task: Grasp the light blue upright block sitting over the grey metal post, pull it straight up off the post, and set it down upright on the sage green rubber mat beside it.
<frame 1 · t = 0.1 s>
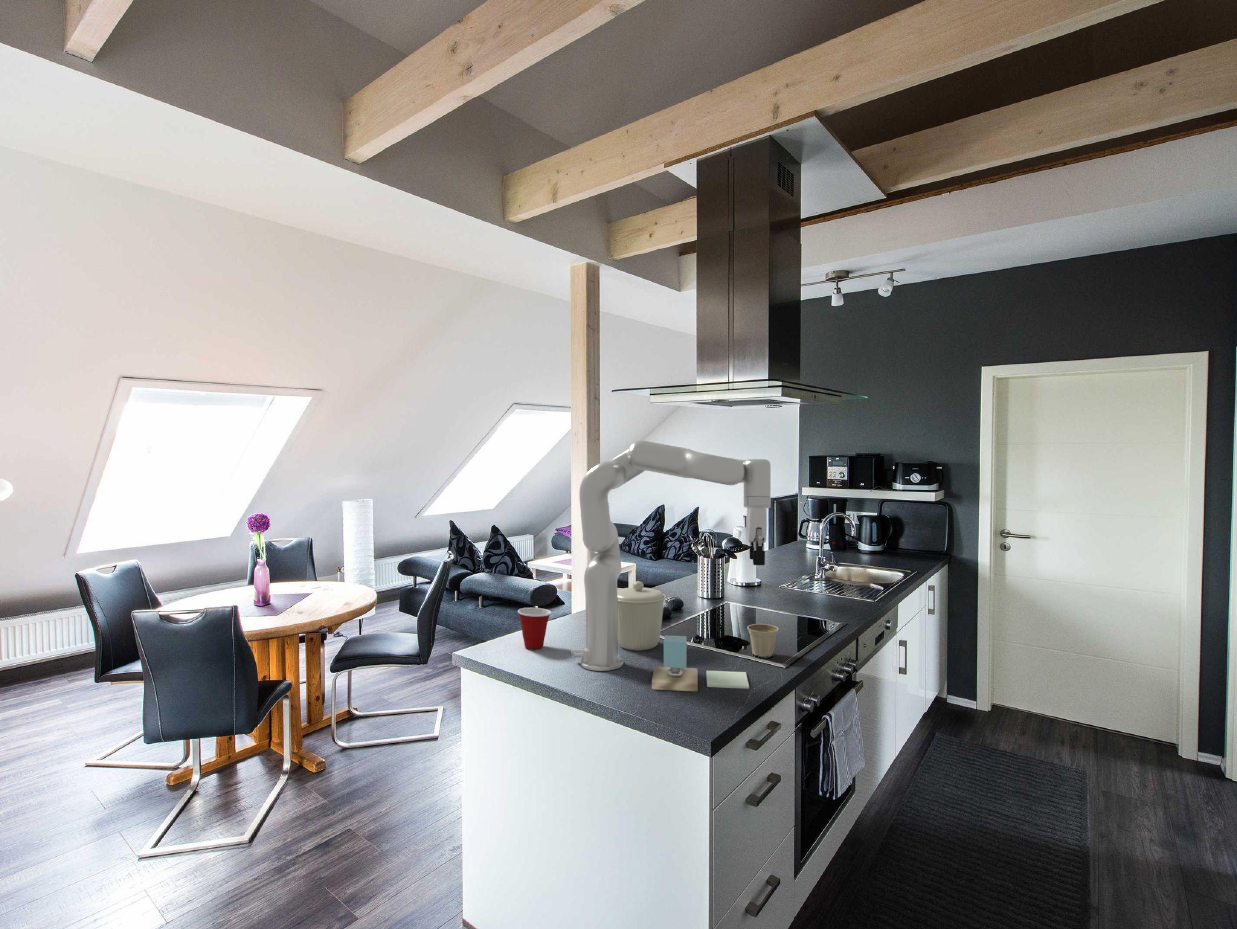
hand: (757, 562, 178), 31 cm above the countertop, tool pointing down, fingers open, 9 cm apart
canister: (638, 646, 202), on the countertop
mat: (726, 680, 171), on the countertop
light blue upright block: (675, 663, 170), point 5 cm above the countertop, touching post
post: (675, 658, 170), on the post base, point 6 cm above the countertop
flower pot: (762, 656, 192), on the countertop
post base: (675, 682, 170), on the countertop
plastic cup: (534, 647, 201), on the countertop
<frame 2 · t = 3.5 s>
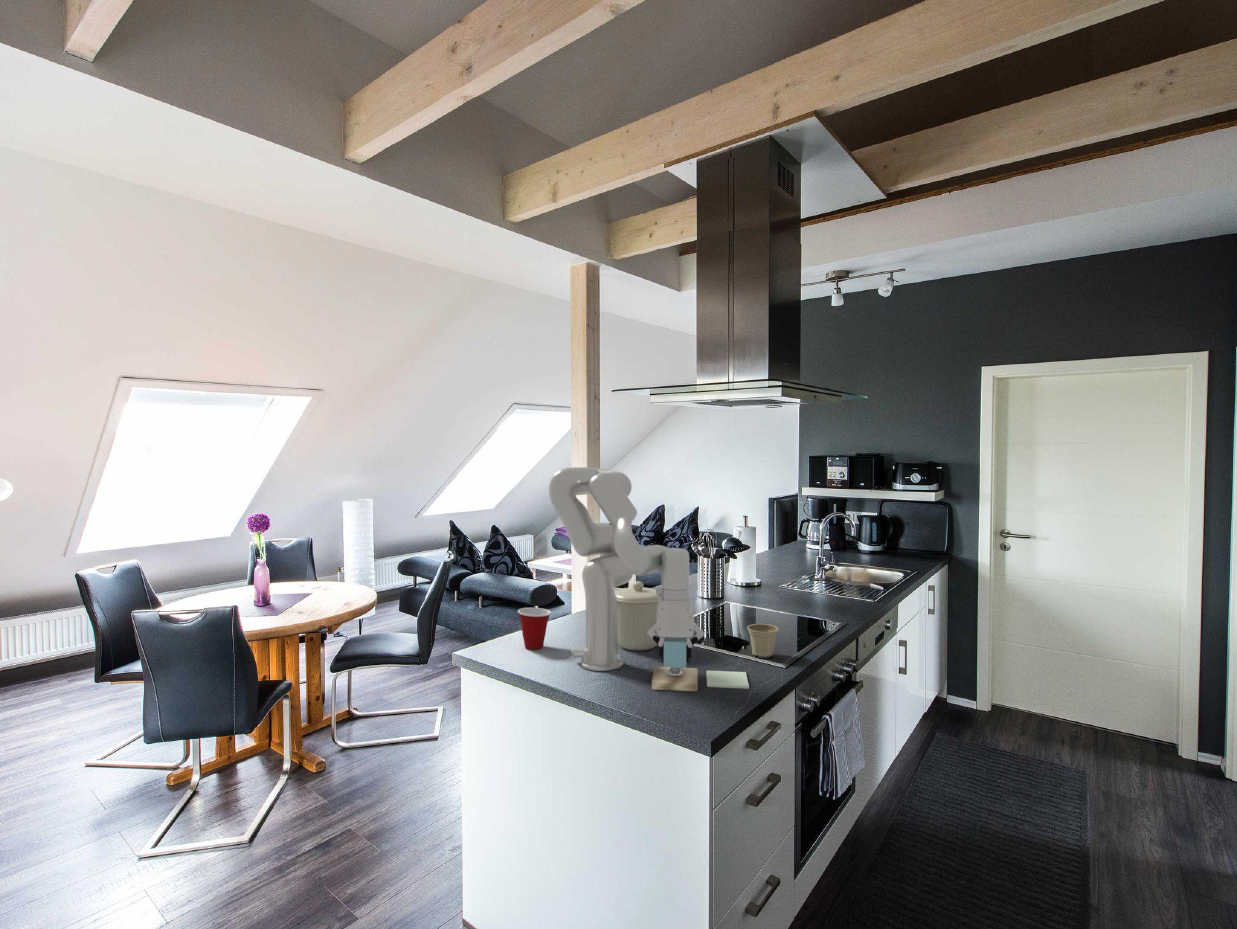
hand: (675, 659, 170), 6 cm above the countertop, tool pointing down, fingers closed on light blue upright block, 5 cm apart
light blue upright block: (675, 663, 170), point 5 cm above the countertop, touching gripper, post
everything else where it was.
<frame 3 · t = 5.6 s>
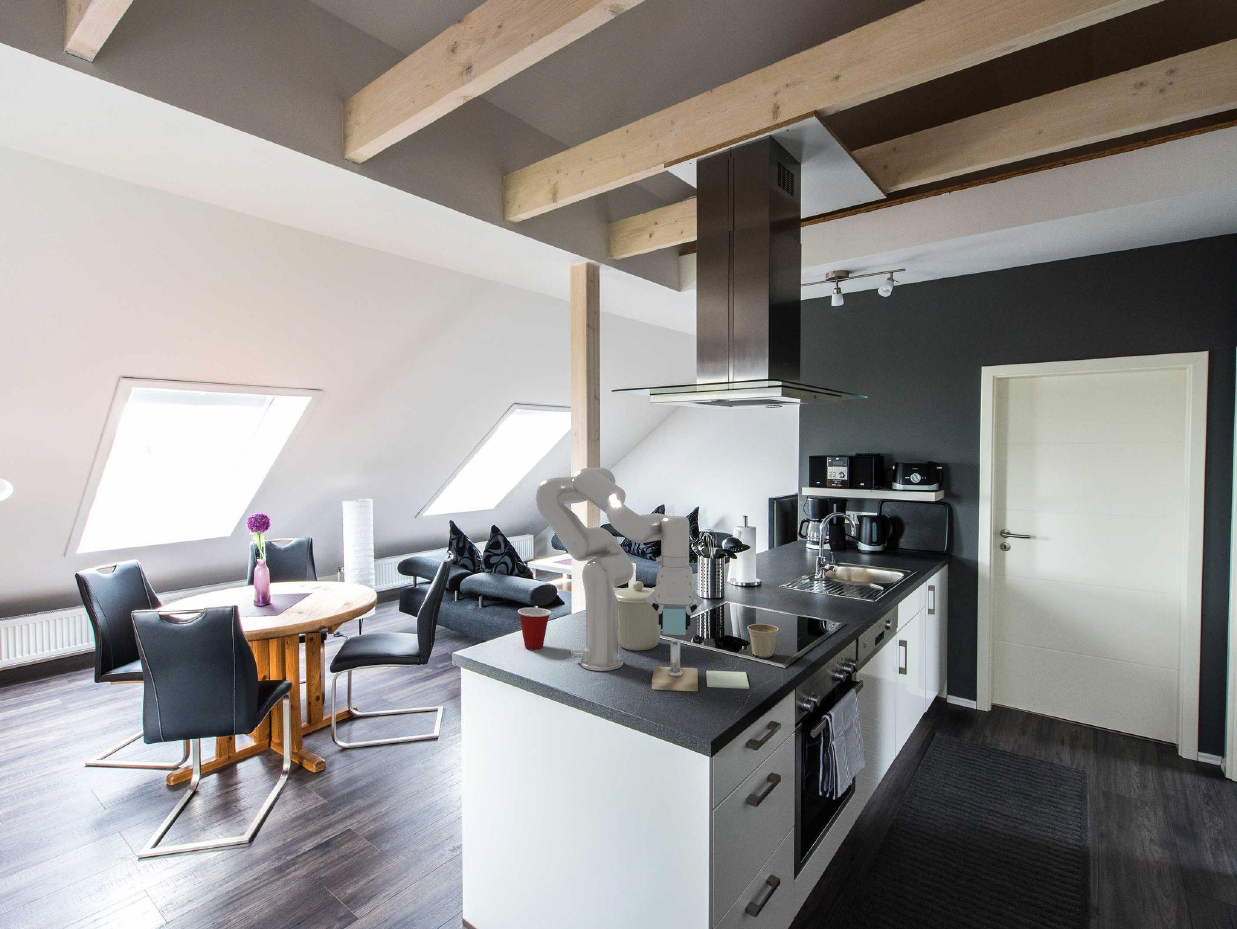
hand: (674, 627, 170), 15 cm above the countertop, tool pointing down, fingers closed on light blue upright block, 5 cm apart
light blue upright block: (674, 631, 170), point 14 cm above the countertop, touching gripper
everything else where it was.
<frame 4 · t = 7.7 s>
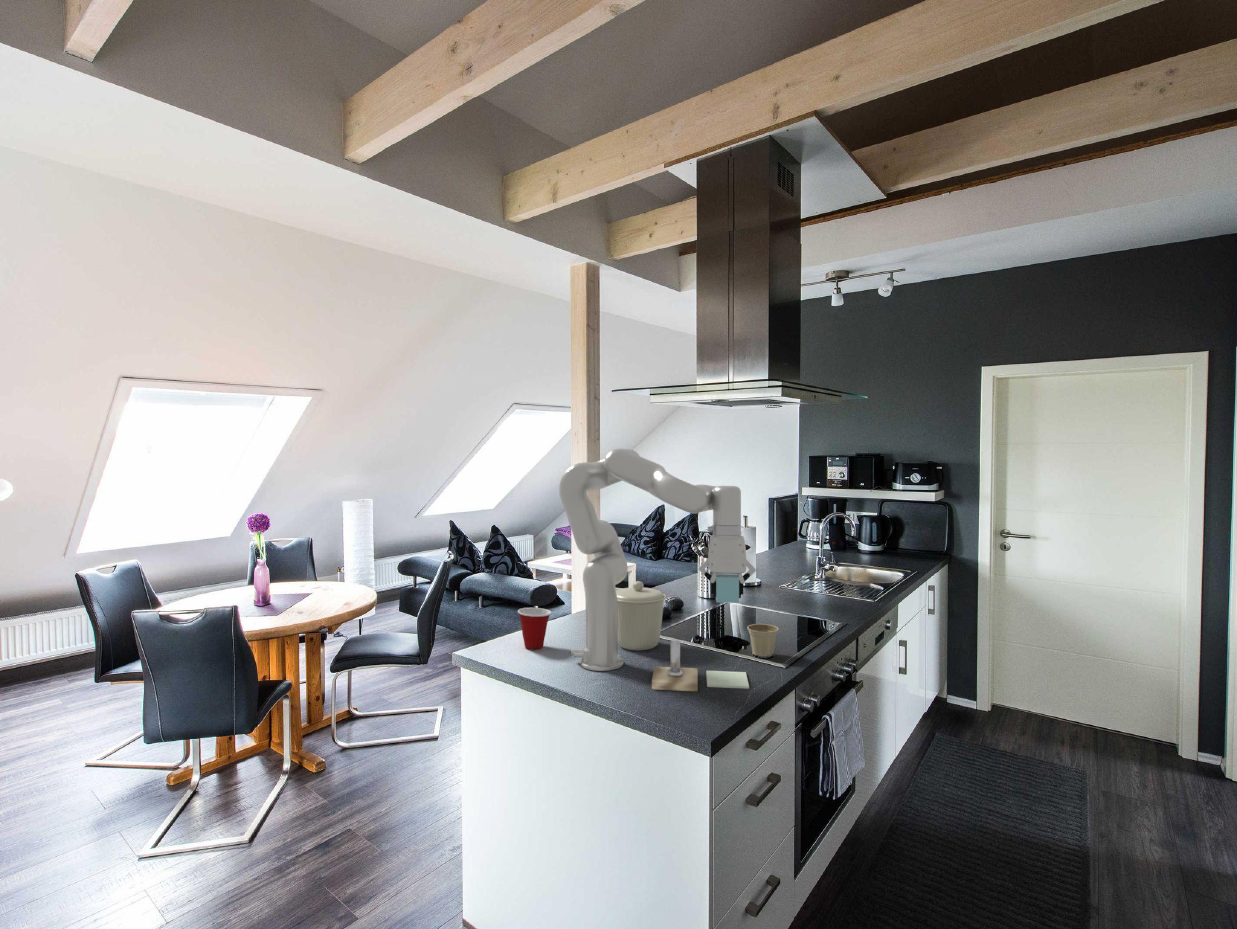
hand: (727, 596, 171), 23 cm above the countertop, tool pointing down, fingers closed on light blue upright block, 5 cm apart
light blue upright block: (727, 600, 171), point 22 cm above the countertop, touching gripper
everything else where it was.
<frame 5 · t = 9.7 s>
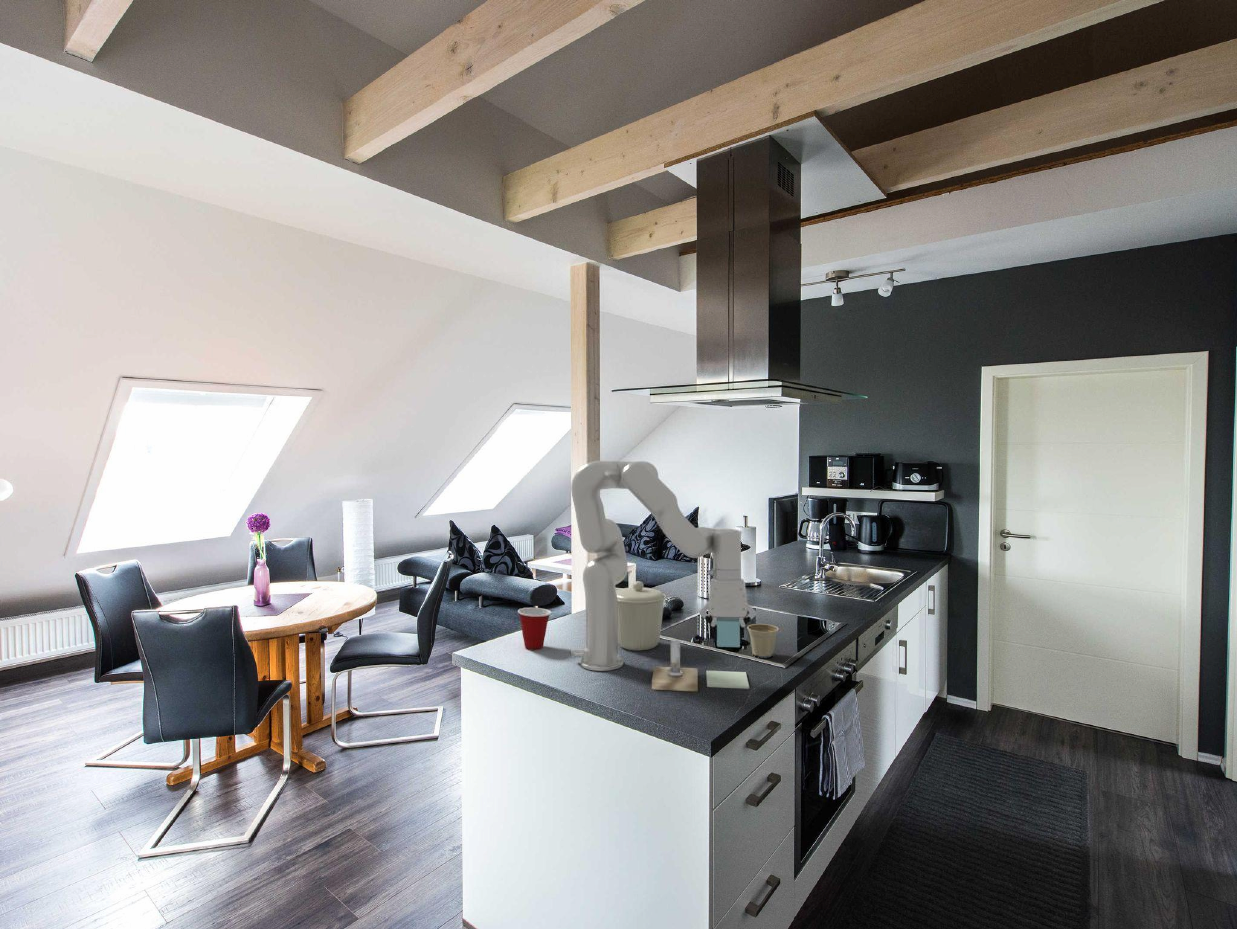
hand: (727, 639, 171), 11 cm above the countertop, tool pointing down, fingers closed on light blue upright block, 5 cm apart
light blue upright block: (728, 643, 171), point 10 cm above the countertop, touching gripper
everything else where it was.
when the fingers open (3 cm above the countertop, at t = 11.7 s): light blue upright block drops 2 cm, resting on mat.
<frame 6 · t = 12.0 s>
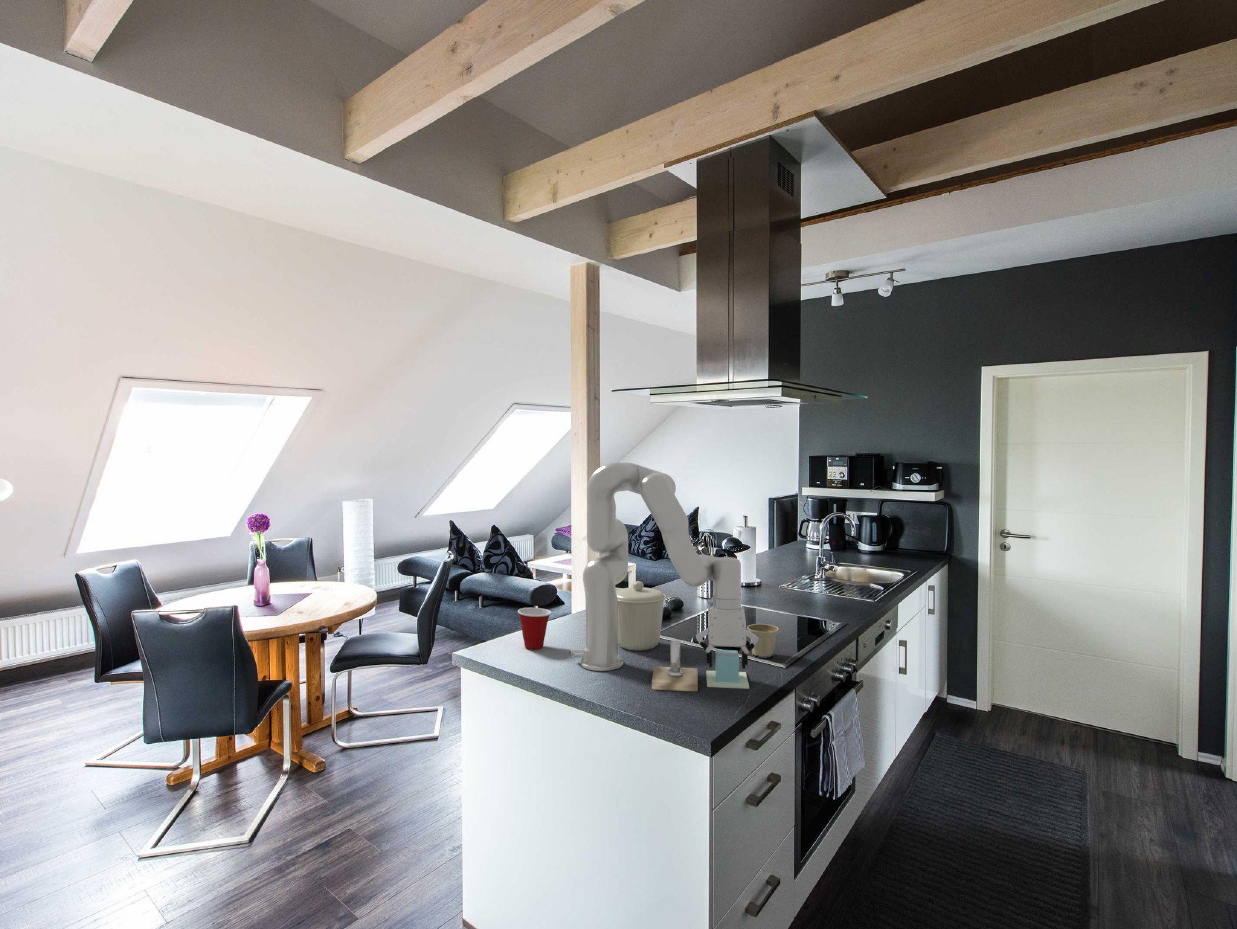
hand: (726, 666, 171), 4 cm above the countertop, tool pointing down, fingers open, 8 cm apart
light blue upright block: (726, 678, 171), point 1 cm above the countertop, touching mat
everything else where it was.
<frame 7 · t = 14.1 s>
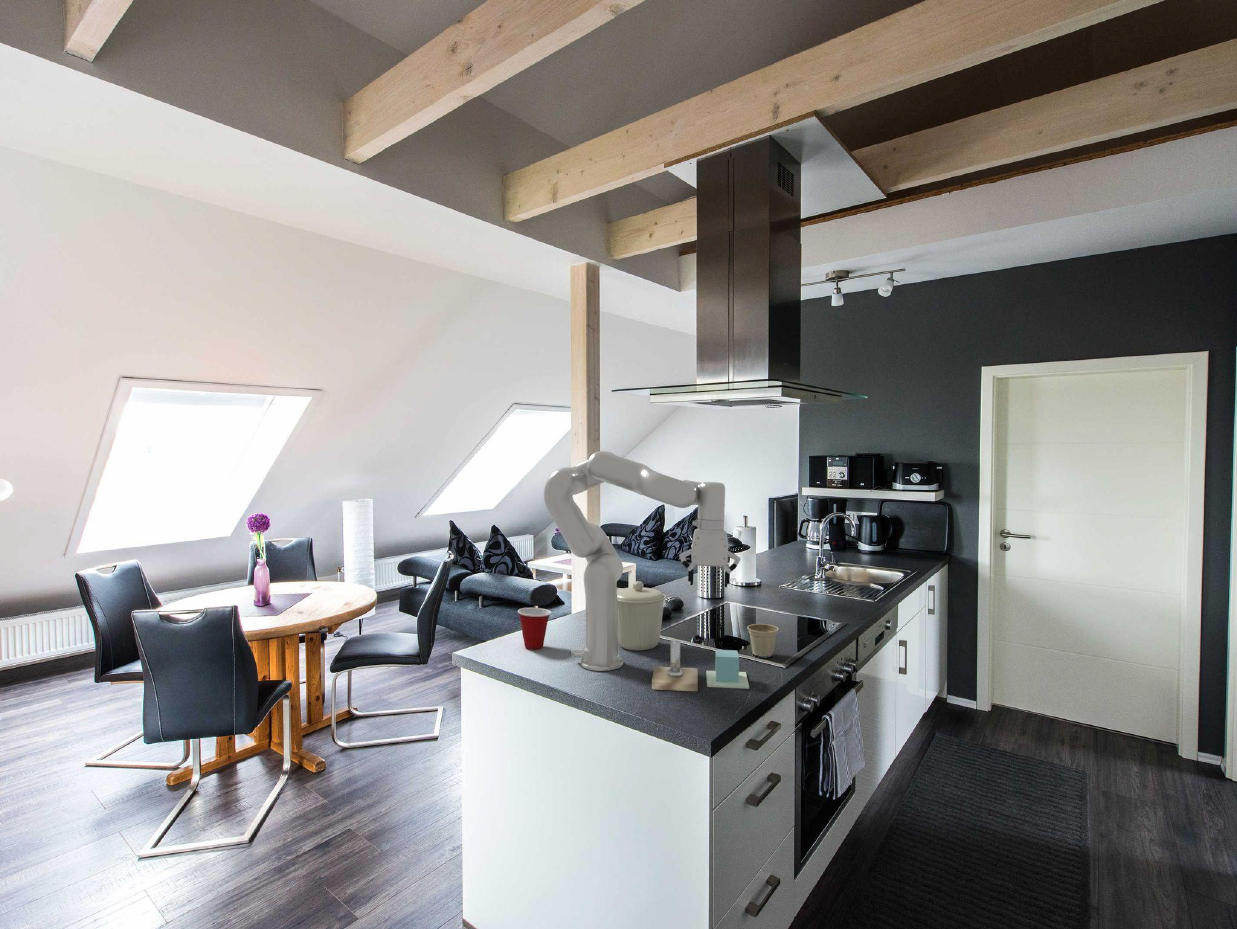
hand: (708, 585, 178), 25 cm above the countertop, tool pointing down, fingers open, 9 cm apart
nothing on the countertop moved.
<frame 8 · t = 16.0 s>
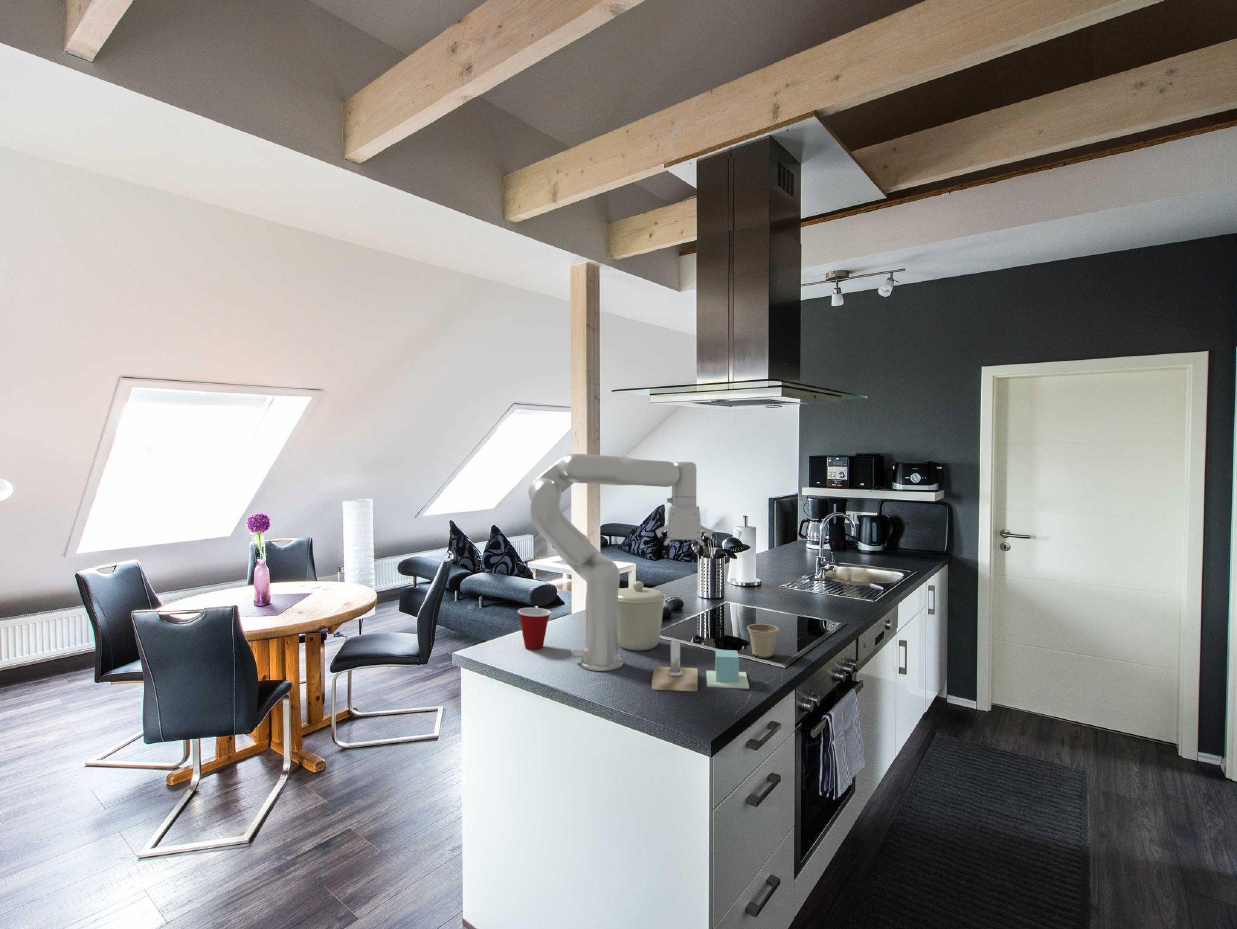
hand: (684, 558, 191), 30 cm above the countertop, tool pointing down, fingers open, 9 cm apart
nothing on the countertop moved.
at the end: light blue upright block 0.0 cm off-centre on the mat, point 0.6 cm above the mat's base; light blue upright block tilted 0°; the gripper is holding nothing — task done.
